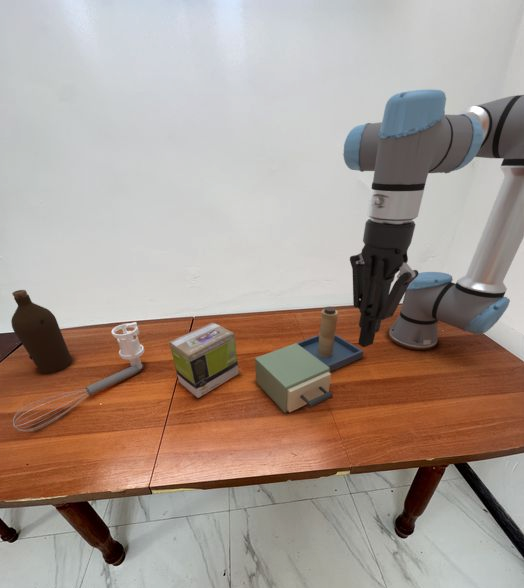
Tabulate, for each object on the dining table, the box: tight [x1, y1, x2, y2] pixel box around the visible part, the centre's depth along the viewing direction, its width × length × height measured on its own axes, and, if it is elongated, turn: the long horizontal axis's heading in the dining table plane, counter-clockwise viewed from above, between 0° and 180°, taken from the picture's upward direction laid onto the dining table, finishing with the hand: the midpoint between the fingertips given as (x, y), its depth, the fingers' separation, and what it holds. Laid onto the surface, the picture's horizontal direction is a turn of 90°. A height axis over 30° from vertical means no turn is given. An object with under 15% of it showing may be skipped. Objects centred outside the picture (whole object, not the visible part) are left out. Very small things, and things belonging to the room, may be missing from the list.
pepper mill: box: [318, 306, 339, 358], centre depth 92 cm, size 5×5×16 cm
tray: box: [296, 333, 364, 373], centre depth 96 cm, size 18×16×3 cm
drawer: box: [287, 372, 334, 413], centre depth 78 cm, size 18×13×7 cm
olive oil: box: [10, 289, 73, 374], centre depth 88 cm, size 11×11×25 cm
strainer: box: [111, 321, 145, 370], centre depth 89 cm, size 7×7×15 cm
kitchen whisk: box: [12, 363, 145, 433], centre depth 80 cm, size 6×34×6 cm, turn 141°
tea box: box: [168, 321, 240, 399], centre depth 83 cm, size 15×10×15 cm, turn 135°
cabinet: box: [254, 342, 331, 413], centre depth 81 cm, size 15×14×9 cm
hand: (365, 343), depth 60 cm, fingers closed
